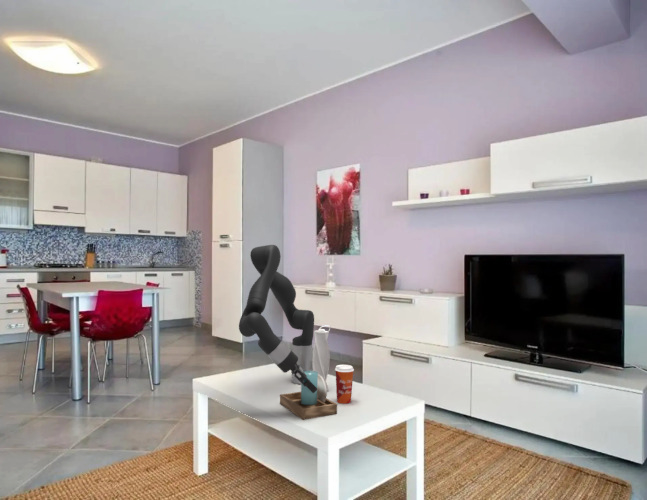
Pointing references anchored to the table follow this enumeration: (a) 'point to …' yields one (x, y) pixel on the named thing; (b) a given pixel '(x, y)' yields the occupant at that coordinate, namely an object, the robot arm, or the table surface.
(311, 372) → the teal dome-topped cylinder
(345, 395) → the paper cup
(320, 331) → the skyscraper
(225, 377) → the table surface
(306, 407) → the tray
